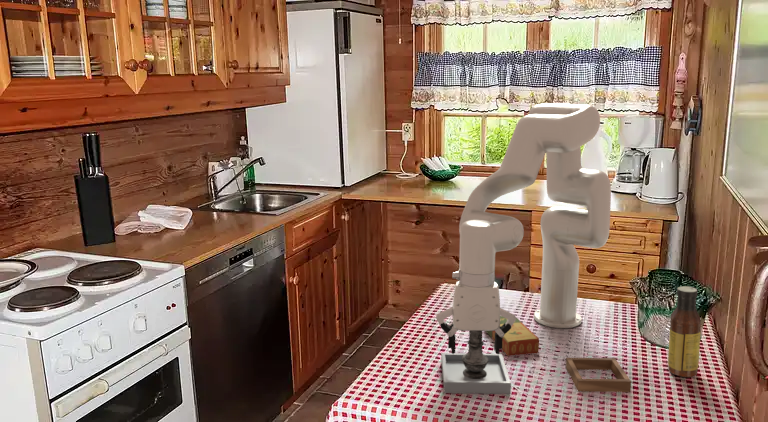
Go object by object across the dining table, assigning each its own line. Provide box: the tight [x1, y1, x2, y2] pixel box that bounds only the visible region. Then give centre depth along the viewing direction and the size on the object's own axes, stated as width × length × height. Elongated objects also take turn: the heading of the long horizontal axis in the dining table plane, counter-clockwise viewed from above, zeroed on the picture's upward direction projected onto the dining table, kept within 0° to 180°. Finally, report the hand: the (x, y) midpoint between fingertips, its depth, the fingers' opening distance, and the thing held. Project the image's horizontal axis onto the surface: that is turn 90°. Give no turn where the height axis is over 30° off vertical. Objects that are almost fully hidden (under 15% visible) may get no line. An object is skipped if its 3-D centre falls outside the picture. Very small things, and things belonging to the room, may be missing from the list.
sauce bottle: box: [667, 285, 702, 378], centre depth 139 cm, size 6×6×20 cm
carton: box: [485, 316, 540, 357], centre depth 158 cm, size 8×16×4 cm, turn 11°
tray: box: [440, 352, 512, 395], centre depth 139 cm, size 14×14×2 cm
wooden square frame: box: [565, 357, 632, 393], centre depth 138 cm, size 11×11×2 cm
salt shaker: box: [462, 331, 489, 379], centre depth 138 cm, size 6×6×12 cm
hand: (474, 351), depth 138 cm, fingers open, 9 cm apart
